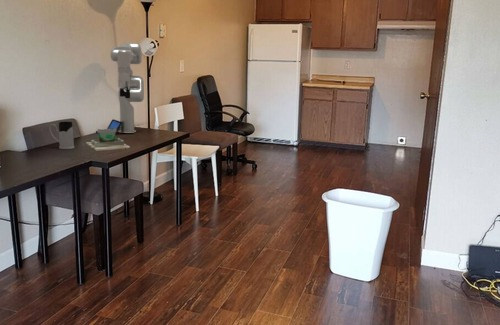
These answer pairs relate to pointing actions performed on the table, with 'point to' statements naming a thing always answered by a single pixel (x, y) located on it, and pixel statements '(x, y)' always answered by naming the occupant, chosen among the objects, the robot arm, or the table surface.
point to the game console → (114, 125)
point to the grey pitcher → (65, 135)
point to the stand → (107, 145)
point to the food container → (106, 135)
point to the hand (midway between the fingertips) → (124, 97)
